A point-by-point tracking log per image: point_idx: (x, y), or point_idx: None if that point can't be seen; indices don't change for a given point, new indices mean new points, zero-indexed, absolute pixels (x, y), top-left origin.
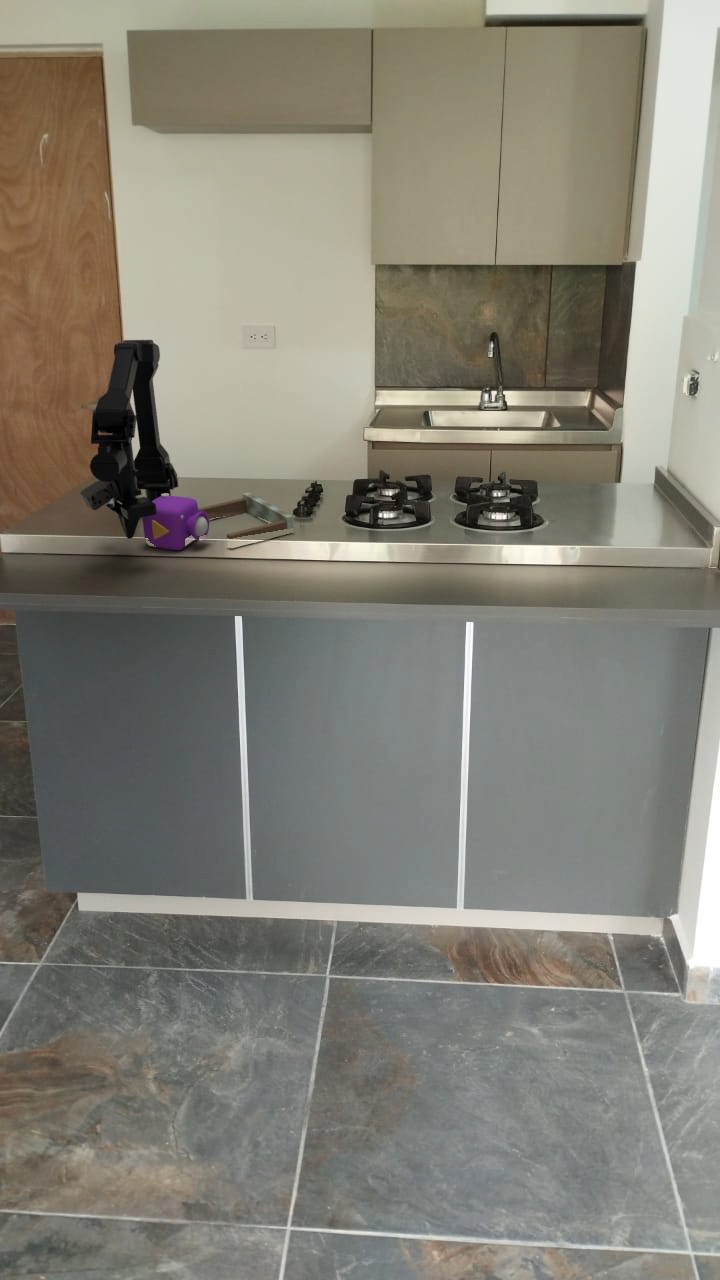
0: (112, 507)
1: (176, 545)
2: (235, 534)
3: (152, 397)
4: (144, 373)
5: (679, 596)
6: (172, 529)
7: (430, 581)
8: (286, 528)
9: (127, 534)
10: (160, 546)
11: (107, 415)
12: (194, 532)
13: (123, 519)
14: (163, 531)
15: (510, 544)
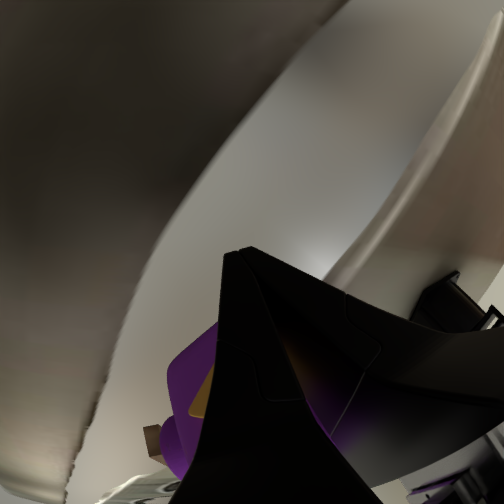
0: (499, 417)
1: (169, 376)
2: (158, 459)
3: None
4: None
5: (26, 498)
6: (187, 429)
7: (25, 480)
8: None
9: (223, 276)
10: (215, 326)
11: None
12: (160, 446)
13: (218, 424)
14: (202, 403)
15: (105, 501)
